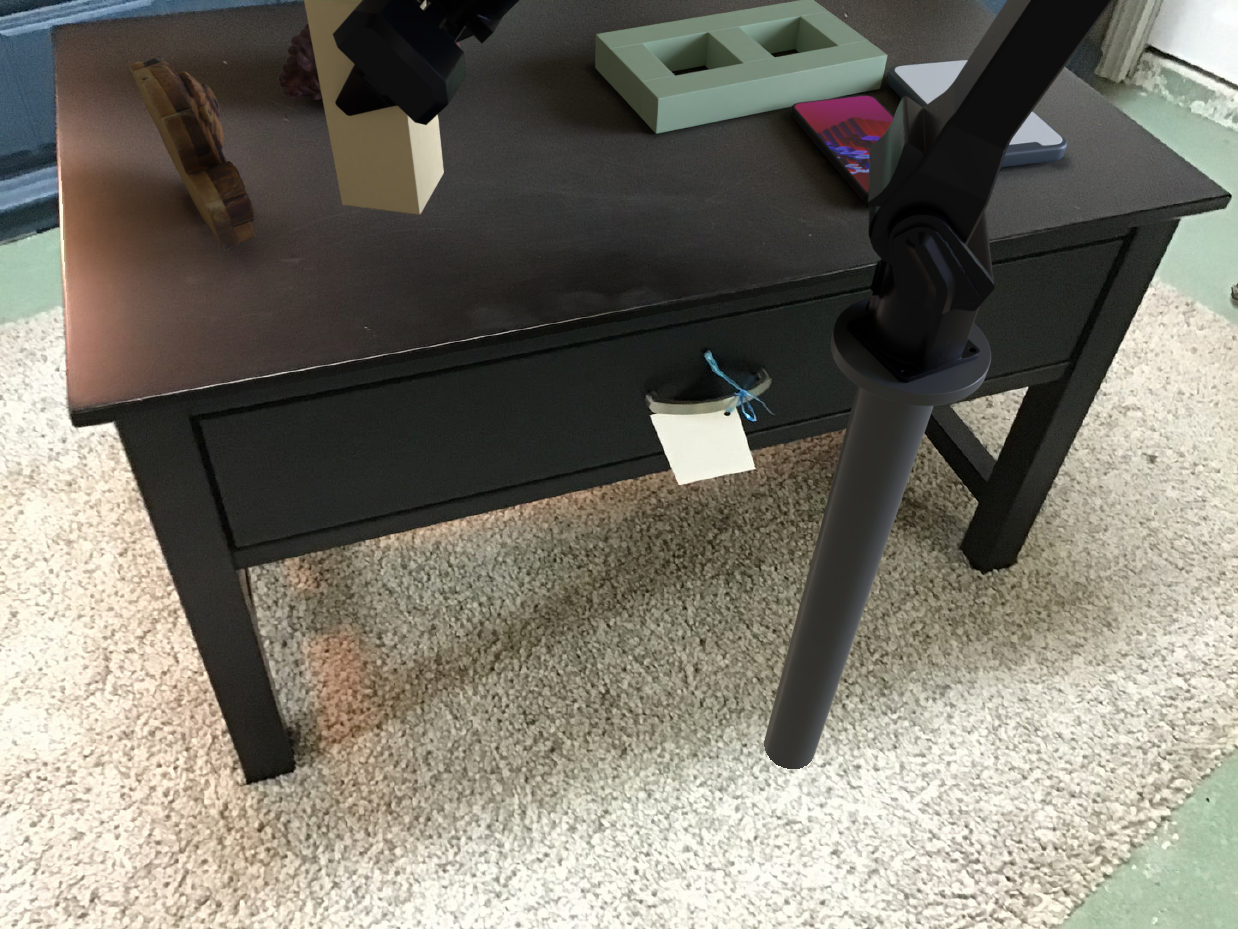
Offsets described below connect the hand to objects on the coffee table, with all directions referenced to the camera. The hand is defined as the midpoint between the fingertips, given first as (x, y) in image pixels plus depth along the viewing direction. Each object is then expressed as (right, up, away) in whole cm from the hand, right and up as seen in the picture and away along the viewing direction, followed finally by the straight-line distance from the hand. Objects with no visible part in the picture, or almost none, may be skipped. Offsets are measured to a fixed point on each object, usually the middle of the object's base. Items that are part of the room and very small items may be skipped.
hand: (358, 87), depth 63 cm
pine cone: (-3, +8, +23) cm, 25 cm away
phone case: (+45, +5, +23) cm, 51 cm away
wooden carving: (-13, -5, +10) cm, 17 cm away
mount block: (+26, +10, +26) cm, 39 cm away
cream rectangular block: (+1, -5, +5) cm, 7 cm away
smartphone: (+35, +1, +18) cm, 40 cm away
